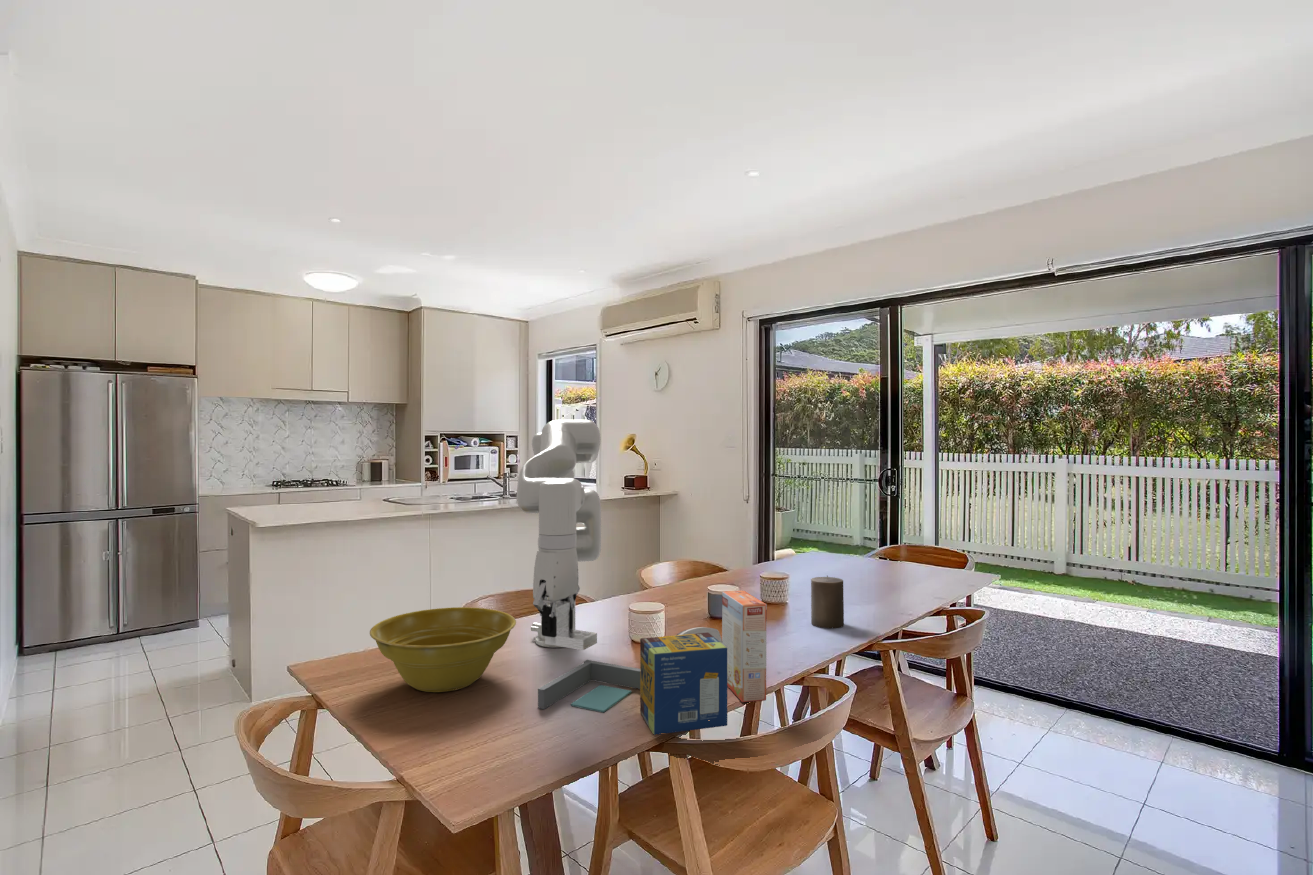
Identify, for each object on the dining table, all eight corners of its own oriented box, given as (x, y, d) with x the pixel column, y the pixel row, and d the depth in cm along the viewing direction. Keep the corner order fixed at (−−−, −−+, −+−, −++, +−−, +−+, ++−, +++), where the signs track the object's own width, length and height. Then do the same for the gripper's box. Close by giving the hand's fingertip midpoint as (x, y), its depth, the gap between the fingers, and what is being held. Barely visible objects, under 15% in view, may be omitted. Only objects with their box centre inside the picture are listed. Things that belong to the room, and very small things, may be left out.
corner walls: (536, 707, 136) (536, 688, 136) (587, 676, 154) (587, 659, 154) (613, 724, 128) (613, 703, 128) (657, 689, 146) (657, 671, 146)
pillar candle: (847, 629, 193) (847, 578, 194) (814, 628, 193) (814, 578, 194) (838, 620, 203) (838, 572, 203) (807, 620, 203) (807, 572, 203)
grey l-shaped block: (545, 643, 130) (545, 606, 130) (559, 637, 134) (559, 600, 134) (583, 650, 126) (583, 611, 126) (596, 642, 130) (596, 605, 130)
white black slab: (681, 676, 154) (672, 633, 157) (669, 677, 158) (661, 635, 160) (732, 661, 164) (722, 621, 167) (719, 663, 168) (710, 623, 171)
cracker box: (768, 701, 139) (768, 603, 139) (741, 703, 138) (741, 604, 138) (745, 678, 153) (745, 589, 153) (721, 680, 151) (720, 590, 152)
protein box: (639, 713, 133) (639, 637, 133) (710, 705, 137) (709, 631, 137) (653, 736, 123) (652, 653, 123) (729, 726, 127) (728, 646, 127)
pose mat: (570, 705, 137) (570, 703, 137) (600, 686, 147) (600, 684, 147) (603, 712, 133) (603, 710, 133) (631, 692, 144) (631, 690, 144)
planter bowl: (544, 673, 156) (544, 617, 156) (437, 722, 129) (437, 654, 129) (450, 651, 173) (450, 600, 173) (338, 691, 145) (338, 630, 145)
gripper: (565, 535, 141) (565, 619, 141) (515, 547, 125) (515, 641, 125) (595, 537, 137) (595, 624, 137) (548, 549, 122) (548, 646, 122)
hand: (557, 631), depth 131 cm, fingers closed on grey l-shaped block, 5 cm apart
